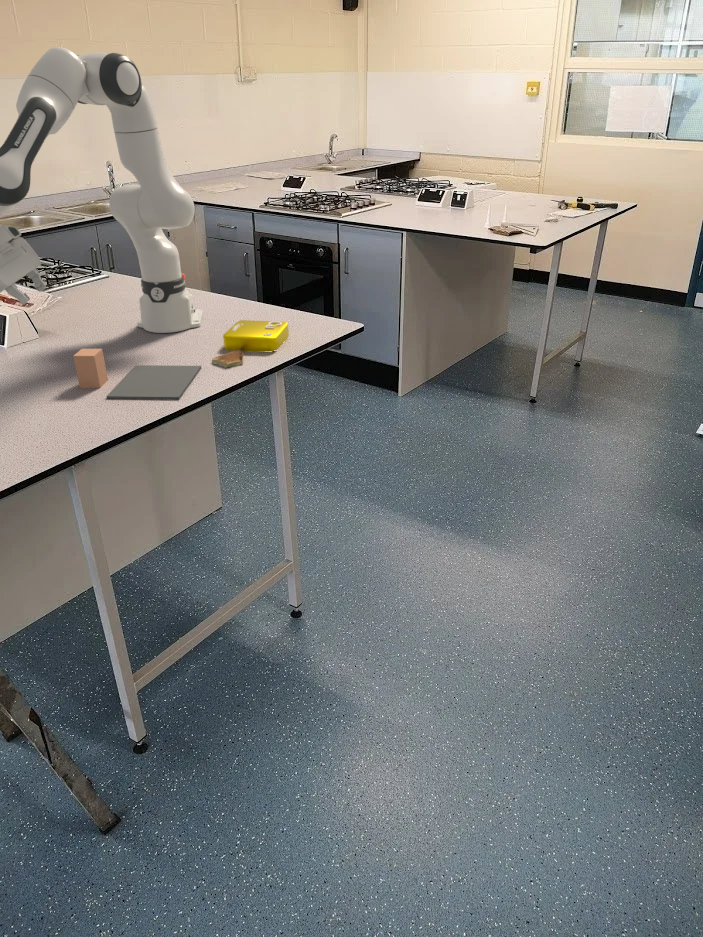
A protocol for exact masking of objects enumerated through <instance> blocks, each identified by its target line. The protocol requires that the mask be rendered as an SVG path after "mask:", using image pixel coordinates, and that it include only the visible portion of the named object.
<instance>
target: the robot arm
mask: <svg viewBox="0 0 703 937" xmlns="http://www.w3.org/2000/svg"><path fill="white" fill-rule="evenodd" d="M78 103H79V104H83V105H95V106H106V107H107V108H108V110H109V112H110V114H111V122H112V127H113V131H114V132H113V133H114V137H115V142H116V146H117V147H116V148H117V150H118V156H119V159H120V162H121V165H122V166H123V167H124V168H125V169H126V170H127V171H128V172H130V173H131V174H132V175H133V176H134V178H135V179H136V180H137V182H138V184H134V183H133V184H132V183H131V184H126V185H122V186H119V187H118V186H117V187H115V188H114V189H113V190H112V192H111V194H110V197H109V203H108V204H109V211H110V213H111V215H112V217H113V218H114V219H115V220H116V221H117V222H118V223H119V224H120V225H121V226H122V227H123V228H124V229H125V231H126V232H127V234H128V236H129V237H130V239H131V241H132V243H133V245H134V248H135V250H136V254H137V257H138V263H139V267H140V274H141V279H140V283H141V284H140V286H141V292H142V293H143V294H142V295H141V297H140V298H139V300H138V301H139V302H138V303H139V311H140V320H139V321H138V322H137V323H136V324H137V327H138V328H141V329H144V330H145V331H147V332H150V333H156V334H167V333H168V334H169V333H176V332H182V331H185V330H188V329H193V328H199V327H201V326H202V321H203V315H204V310H203V309H200V308H196V306H195V299H194V295H193V294H191V292H189V291H188V290H187V286H186V275H185V273H182V270H181V261H180V260H181V259H180V254H179V250H178V248H177V246H176V245H175V244H174V243H173V242H172V241H170V240H169V239H168V237H166V234H165V232H164V230H176V229H181V228H187V227H188V226H189V225H190V224H191V223H192V221H193V219H194V216H195V203H194V200H193V198H192V196H191V195H190V193H189V192H188V191H187V190H185V189H184V188H183V187H182V186H181V185H180V184H179V182H178V181H177V180H176V178H175V177H174V175H173V174H172V171H171V170H170V169H169V166H168V164H167V162H166V159H165V155H164V152H163V147H162V146H163V145H162V143H161V139H160V133H159V129H158V127H159V126H158V121H157V118H156V115H155V110H154V107H153V104H152V101H151V97H150V95H149V93H148V91H147V89H146V87H145V86H144V85H143V84H142V78H141V75H140V72H139V69H138V67H137V65H136V64H135V62H134V61H133V59H131V58H130V57H129V56H127V55H124V54H121V53H118V52H117V53H116V52H111V53H108V52H91V53H85V54H76V53H74V52H73V51H72V50H70V49H68V48H66V47H62V46H54V47H51V48H49V49H48V50H47V51H45V53H44V54H43V55H42V56H41V57H40V58H39V60H38V61H37V62H36V63H35V65H34V66H33V67H32V69H31V70H30V72H29V73H28V75H27V77H26V78H25V80H24V82H23V84H22V86H21V89H20V91H19V94H18V97H17V101H16V103H15V106H16V111H17V113H18V116H17V119H16V122H14V125H13V127H12V129H11V130H10V132H9V134H8V135H7V137H6V139H5V140H4V142H3V144H2V145H1V146H0V216H1V215H3V214H7V213H10V212H11V211H12V210H14V209H15V207H16V206H18V204H19V203H20V202H21V201H22V200H24V199H25V197H26V196H27V195H28V193H29V191H30V187H31V171H32V170H31V169H32V165H33V163H34V161H35V160H36V157H37V155H38V154H39V151H40V149H41V148H42V146H43V144H44V143H45V141H46V139H47V137H49V135H56V134H57V133H58V132H59V131H60V130H61V129H62V128H63V126H64V125H65V124H67V121H68V120H69V119H70V117H71V115H72V113H73V112H74V110H75V108H76V107H77V105H78ZM21 236H22V233H21V231H20V230H19V229H18V228H17V227H16V226H11V225H5V224H1V223H0V293H2V292H3V291H5V292H6V293H7V294H8V295H10V297H13V298H15V299H17V301H18V302H19V303H20V304H21V305H25V304H27V303H28V302H29V301H30V300H31V298H30V296H28V294H27V293H26V292H22V291H21V290H20V289H19V288H18V287H19V286H17V284H16V283H17V282H18V281H20V280H21V279H22V278H24V277H26V276H27V277H28V278H29V279H31V281H32V282H33V284H34V289H36V290H37V291H38V292H40V293H41V292H42V291H44V290H46V288H47V284H45V283H44V281H43V280H42V277H41V275H40V272H39V271H38V270H37V268H39V267H40V266H42V261H41V258H40V257H39V255H38V254H37V253H36V252H35V251H36V250H34V248H33V247H31V245H30V244H29V243H28V241H27V240H26V239H25V238H23V237H21Z"/></svg>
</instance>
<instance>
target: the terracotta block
mask: <svg viewBox="0 0 703 937" xmlns="http://www.w3.org/2000/svg"><path fill="white" fill-rule="evenodd" d="M104 357H105V356H104V352H103V348H81V349H80V350H78V351H77V352H76V353H75V354H73V361H74V365H75V370H76V375H77V380H78V384H79V388H80V389H87V388H88V389H102V387H103V386H104V385H105V384H106V383H107V382H108V381H109V377H108V372H107V368H106V367H107V366H106V361H105V358H104Z"/></svg>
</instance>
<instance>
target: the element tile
mask: <svg viewBox="0 0 703 937" xmlns="http://www.w3.org/2000/svg"><path fill="white" fill-rule="evenodd" d="M289 332H290V331H289V323H288V322H287V321H279V320H278V321H275V320H274V321H273V320H270V321H269V320H252V319H251V320H248V319H247V320H246V319H243V320H242V319H241V320H238V321H237V322H235V323H234V324H233V325H232V326H231V327H230V328H229V329H228V330H226V332H225V333H224V334H223V338H222V339H223V345H224V350H226V351H229V352H232V351H236V350H238V349H241V348H243V352H248V351H274V350H277V349H278V348H279V347H280V346H281V345H282V344H283V342H284V341H285V340H286V339H287V338H288V336H289V337H290V334H289ZM288 339H289V338H288ZM288 339H287V340H288ZM287 340H286V341H287ZM286 341H285V342H286ZM283 345H284V344H283ZM283 345H282V346H283ZM282 346H281V347H282ZM281 347H280V348H281Z"/></svg>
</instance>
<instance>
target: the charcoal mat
mask: <svg viewBox="0 0 703 937" xmlns="http://www.w3.org/2000/svg"><path fill="white" fill-rule="evenodd" d="M201 369H202V365H164V364H163V365H153V364H151V365H148V364H147V365H144V364H143V365H142V364H141V365H140V364H138V365H137V364H136V365H134V366H133V367H132V368H131V370H130V371H129V372H128V373H127V374H126V375H125V376H124V377H123V378H122V379H121V380H120V381H119V382H118V383H117V384H116V385H115V387H113V388H112V390H110V392H109V393H108V394H107V395H106V400H117V399H118V400H180V399H181V398H182V396H183V395H184V394H185V392H186V390H188V388H189V386H190V385H191V383H193V381H194V379H195V378H196V377H197V375H198V374H199V372H200V371H201Z"/></svg>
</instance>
